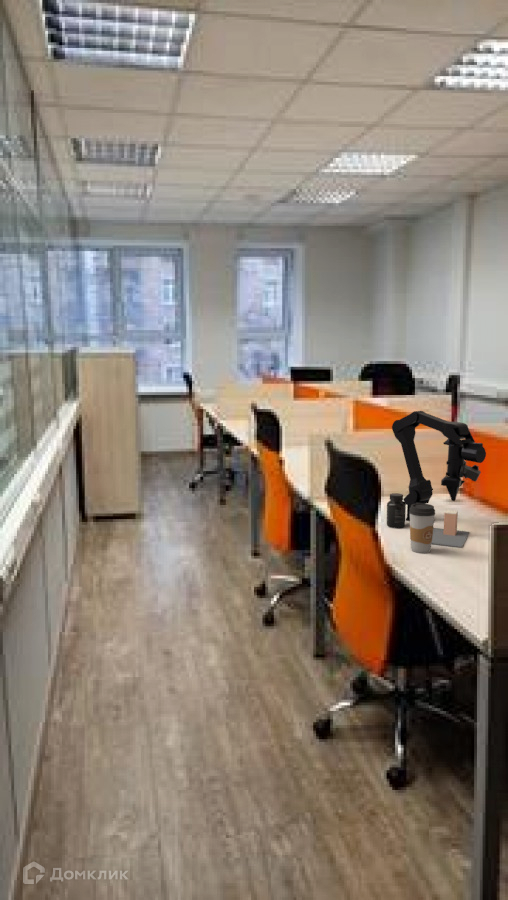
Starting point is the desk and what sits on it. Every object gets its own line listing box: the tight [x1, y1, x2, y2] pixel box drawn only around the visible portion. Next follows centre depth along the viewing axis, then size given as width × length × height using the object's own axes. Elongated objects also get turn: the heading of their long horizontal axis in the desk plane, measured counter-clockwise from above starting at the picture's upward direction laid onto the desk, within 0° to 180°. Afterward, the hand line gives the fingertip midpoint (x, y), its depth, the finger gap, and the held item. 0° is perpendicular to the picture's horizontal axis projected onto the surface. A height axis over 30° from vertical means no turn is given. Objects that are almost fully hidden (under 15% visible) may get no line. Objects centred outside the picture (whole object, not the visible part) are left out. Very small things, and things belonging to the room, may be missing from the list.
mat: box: [431, 527, 470, 549], centre depth 236 cm, size 13×19×1 cm
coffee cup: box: [409, 503, 436, 554], centre depth 221 cm, size 8×8×15 cm
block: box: [443, 509, 459, 536], centre depth 239 cm, size 4×4×8 cm
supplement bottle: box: [386, 492, 407, 529], centre depth 249 cm, size 7×7×12 cm
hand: (453, 500), depth 244 cm, fingers closed
